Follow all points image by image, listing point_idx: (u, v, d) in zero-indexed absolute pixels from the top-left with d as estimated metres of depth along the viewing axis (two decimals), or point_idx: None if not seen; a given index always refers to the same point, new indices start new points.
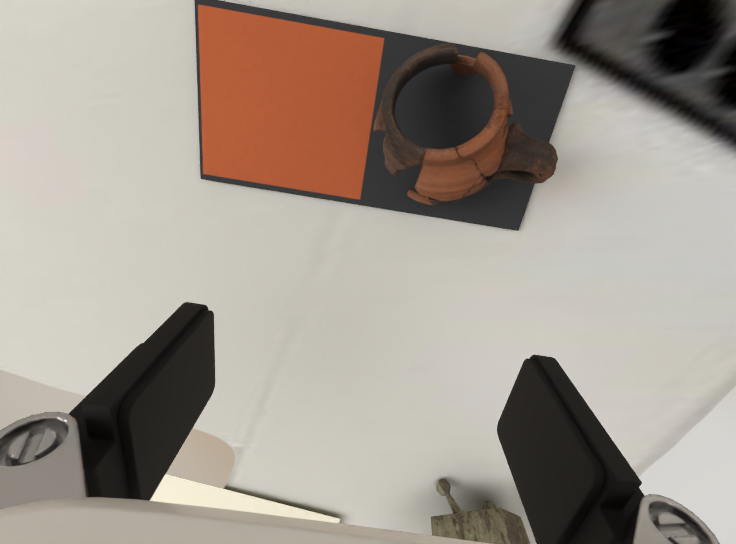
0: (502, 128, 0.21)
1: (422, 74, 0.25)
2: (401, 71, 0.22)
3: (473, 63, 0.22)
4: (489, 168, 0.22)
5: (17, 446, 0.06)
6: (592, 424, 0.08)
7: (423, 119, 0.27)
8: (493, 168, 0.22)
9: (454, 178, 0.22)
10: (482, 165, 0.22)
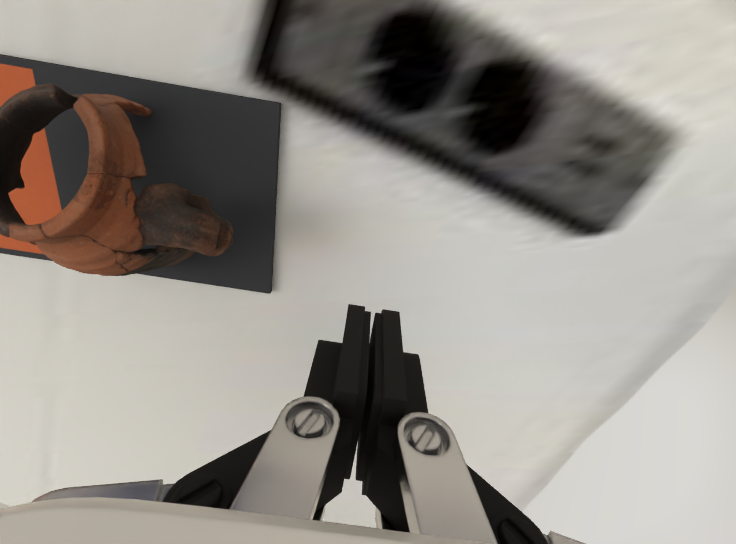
0: (121, 195, 0.16)
1: None
2: None
3: None
4: (123, 243, 0.17)
5: (300, 423, 0.07)
6: (394, 359, 0.09)
7: None
8: (133, 242, 0.17)
9: (77, 256, 0.17)
10: (107, 241, 0.17)
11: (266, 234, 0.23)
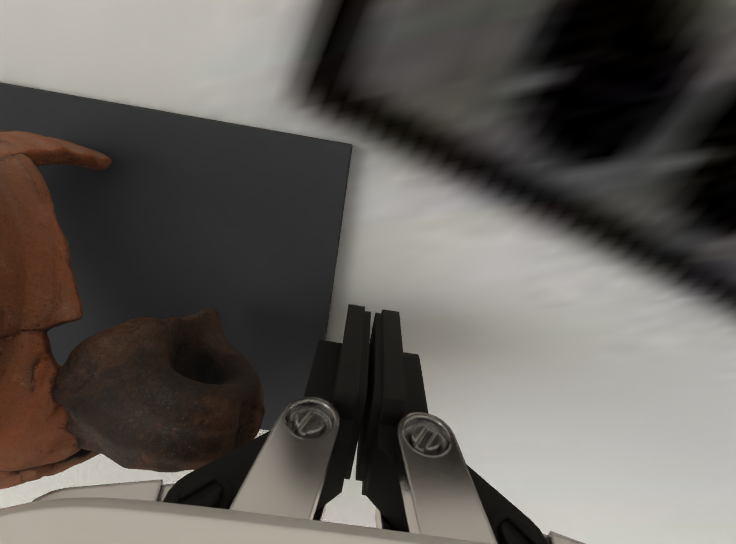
0: (19, 372, 0.07)
1: None
2: None
3: None
4: (31, 459, 0.08)
5: (300, 423, 0.07)
6: (394, 359, 0.09)
7: None
8: (55, 451, 0.08)
9: None
10: None
11: (312, 355, 0.14)
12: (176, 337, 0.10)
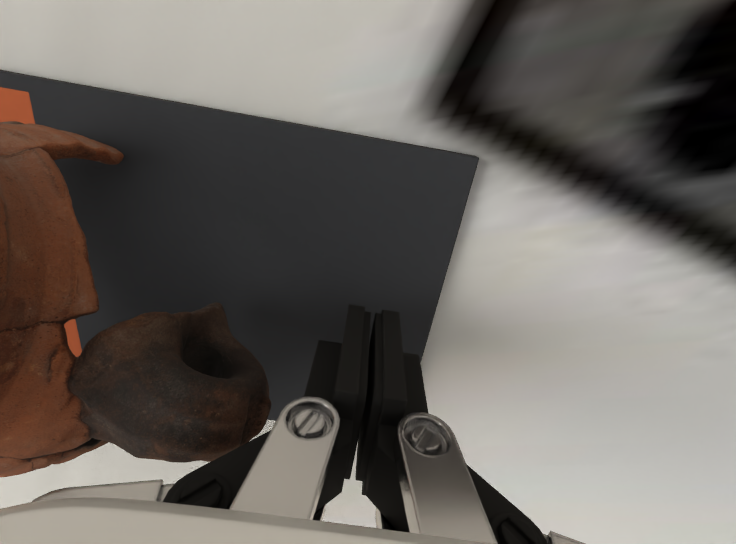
0: (37, 363, 0.07)
1: (140, 171, 0.11)
2: None
3: None
4: (44, 447, 0.08)
5: (300, 423, 0.07)
6: (394, 359, 0.09)
7: (168, 257, 0.12)
8: (67, 440, 0.08)
9: None
10: (6, 450, 0.08)
11: None
12: (185, 331, 0.10)
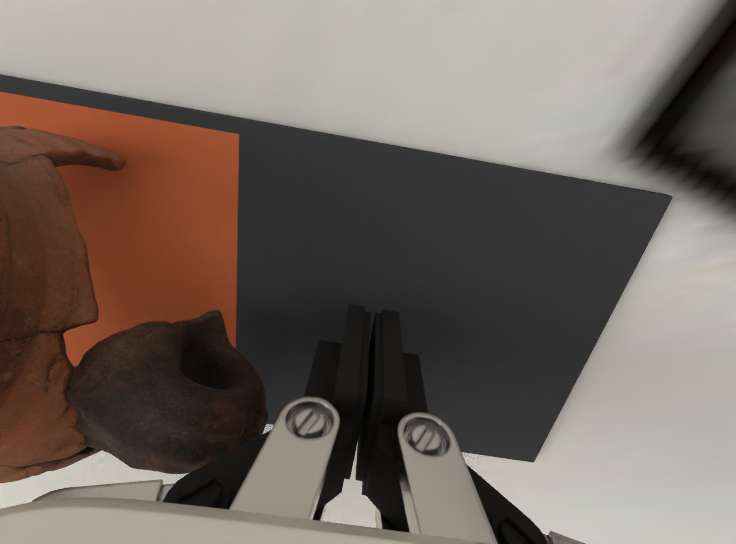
0: (35, 372, 0.07)
1: (333, 208, 0.12)
2: None
3: None
4: (39, 455, 0.08)
5: (300, 423, 0.07)
6: (395, 359, 0.09)
7: (342, 289, 0.13)
8: (63, 448, 0.08)
9: None
10: (1, 458, 0.08)
11: (562, 388, 0.14)
12: (184, 340, 0.10)
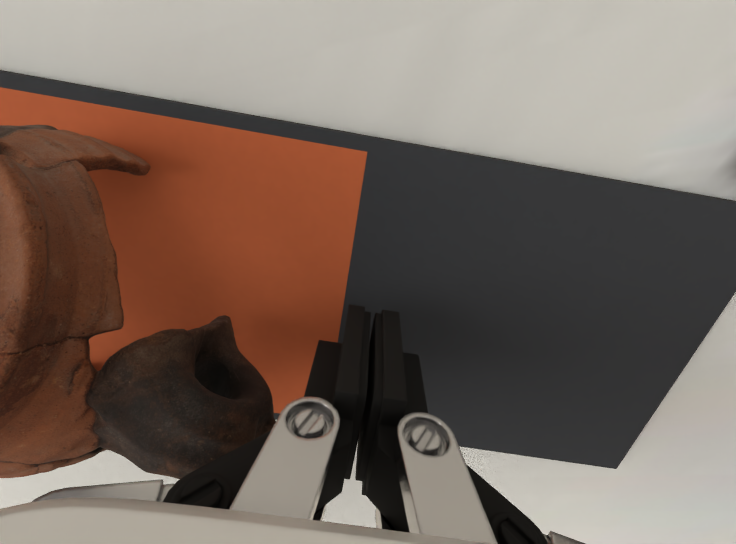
0: (60, 376, 0.07)
1: (450, 223, 0.12)
2: None
3: None
4: (53, 454, 0.08)
5: (300, 423, 0.07)
6: (394, 359, 0.09)
7: (449, 301, 0.13)
8: (76, 448, 0.09)
9: None
10: (17, 456, 0.08)
11: (655, 396, 0.14)
12: (198, 347, 0.10)
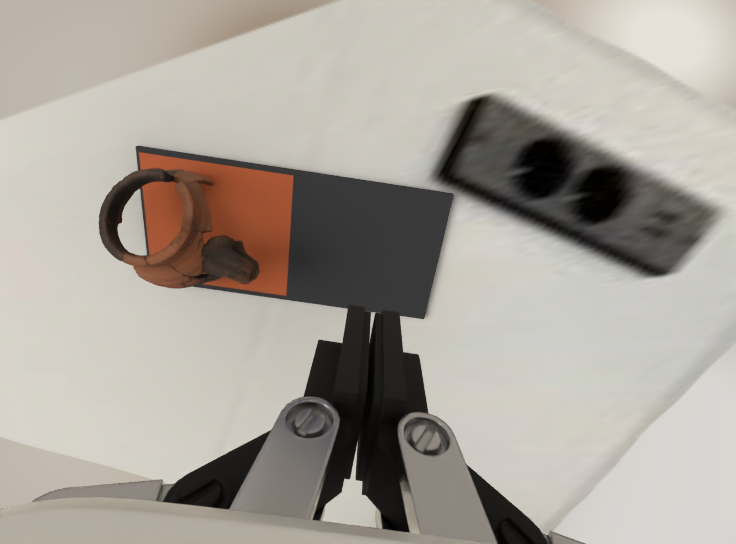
0: (196, 242, 0.26)
1: (327, 201, 0.30)
2: (119, 184, 0.26)
3: None
4: (190, 271, 0.27)
5: (300, 423, 0.07)
6: (394, 359, 0.09)
7: (332, 234, 0.32)
8: (196, 271, 0.27)
9: (159, 276, 0.27)
10: (181, 269, 0.26)
11: (429, 278, 0.33)
12: (232, 245, 0.29)
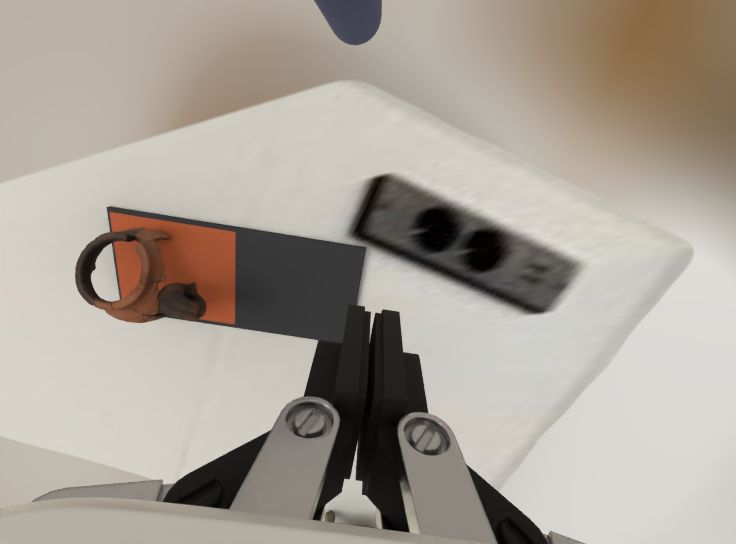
0: (152, 290, 0.33)
1: (264, 252, 0.37)
2: (91, 244, 0.33)
3: None
4: (148, 311, 0.34)
5: (300, 423, 0.07)
6: (394, 359, 0.09)
7: (270, 277, 0.39)
8: (153, 311, 0.34)
9: (124, 315, 0.34)
10: (140, 310, 0.34)
11: None
12: (184, 289, 0.36)
